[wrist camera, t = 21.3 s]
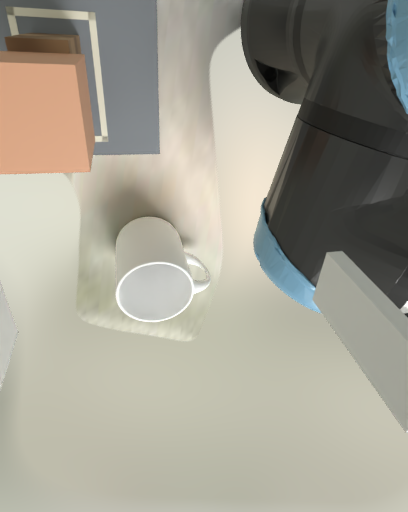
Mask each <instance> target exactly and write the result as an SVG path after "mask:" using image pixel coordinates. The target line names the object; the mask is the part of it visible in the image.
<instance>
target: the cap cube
mask: <svg viewBox="0 0 408 512" xmlns="http://www.w3.org/2000/svg"><path fill="white" fill-rule="evenodd" d="M94 145H95V135H94V127H93V119H92V111H91V103H90V95H89V87H88V79H87V71H86V63H85V55H84V54H66V53H42V52H17V51H0V174H28V173H29V174H31V173H69V172H90V170H91V164H92V158H93V151H94Z"/></svg>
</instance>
